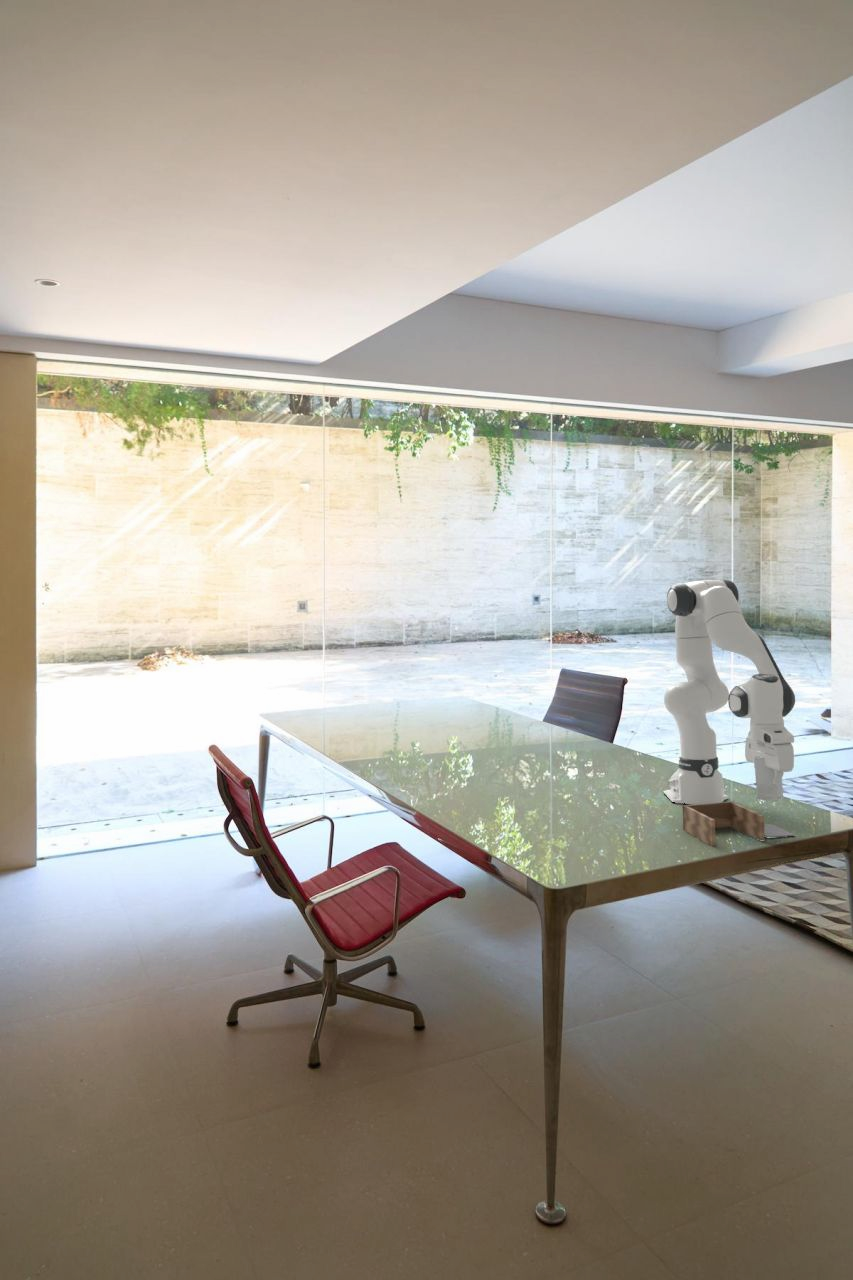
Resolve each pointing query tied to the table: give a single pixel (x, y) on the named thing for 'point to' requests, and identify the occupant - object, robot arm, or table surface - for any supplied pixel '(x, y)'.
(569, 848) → the table surface
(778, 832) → the charcoal mat
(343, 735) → the table surface
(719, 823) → the walnut u-shaped frame
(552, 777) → the table surface
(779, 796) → the skincare box
